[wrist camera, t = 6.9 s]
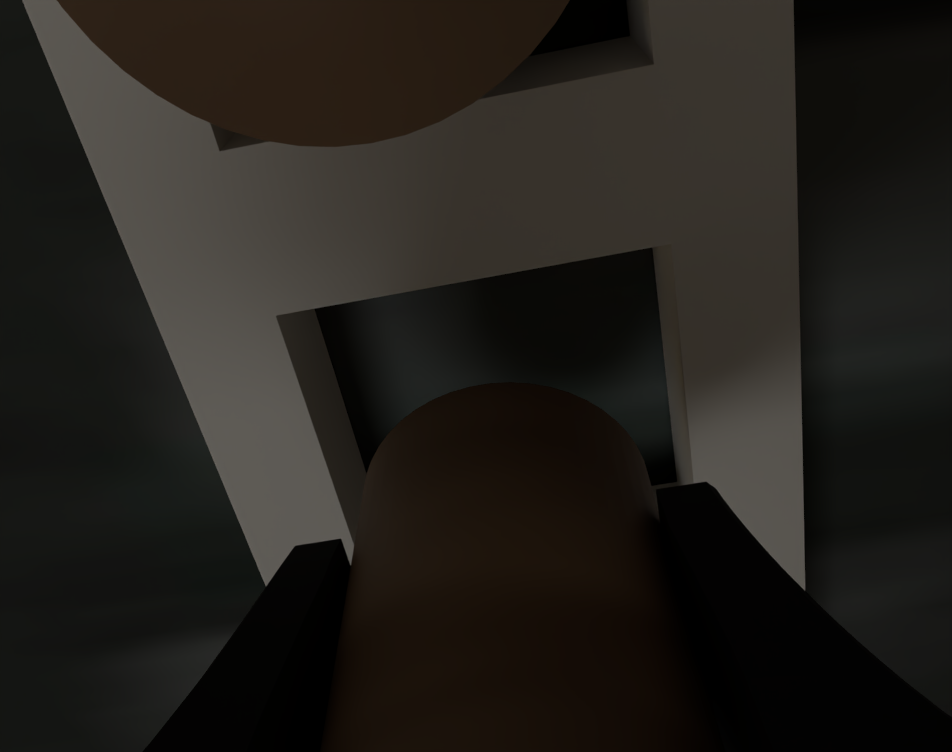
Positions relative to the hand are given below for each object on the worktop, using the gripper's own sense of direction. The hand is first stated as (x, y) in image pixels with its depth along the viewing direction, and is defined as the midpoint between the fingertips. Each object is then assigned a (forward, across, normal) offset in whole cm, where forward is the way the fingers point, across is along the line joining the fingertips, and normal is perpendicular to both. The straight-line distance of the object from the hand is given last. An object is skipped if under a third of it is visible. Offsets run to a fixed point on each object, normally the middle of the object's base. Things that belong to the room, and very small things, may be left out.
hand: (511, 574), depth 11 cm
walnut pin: (+1, 0, 0) cm, 1 cm away
